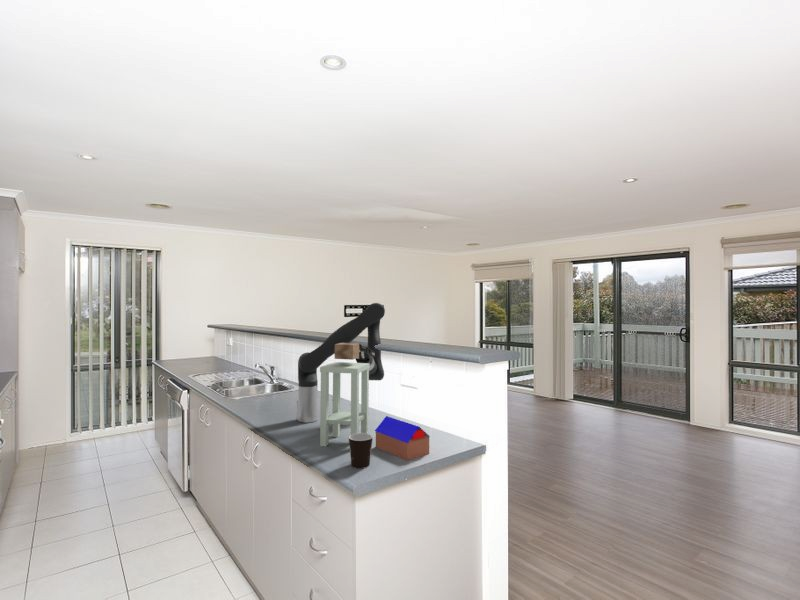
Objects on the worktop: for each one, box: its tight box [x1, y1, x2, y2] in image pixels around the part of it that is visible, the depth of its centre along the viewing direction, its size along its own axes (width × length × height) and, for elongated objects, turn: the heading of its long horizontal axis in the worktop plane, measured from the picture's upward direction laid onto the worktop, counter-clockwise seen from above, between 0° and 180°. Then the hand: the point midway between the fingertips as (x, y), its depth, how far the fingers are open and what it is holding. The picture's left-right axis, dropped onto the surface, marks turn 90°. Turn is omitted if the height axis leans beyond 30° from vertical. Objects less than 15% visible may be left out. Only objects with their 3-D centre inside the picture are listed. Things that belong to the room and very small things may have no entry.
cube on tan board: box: [334, 342, 364, 360], centre depth 186 cm, size 8×20×6 cm, turn 167°
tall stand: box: [319, 361, 370, 448], centre depth 178 cm, size 16×16×32 cm
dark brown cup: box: [348, 432, 374, 469], centre depth 154 cm, size 12×9×10 cm
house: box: [374, 415, 431, 461], centre depth 169 cm, size 12×20×12 cm, turn 40°
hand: (355, 345), depth 190 cm, fingers closed on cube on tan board, 3 cm apart
